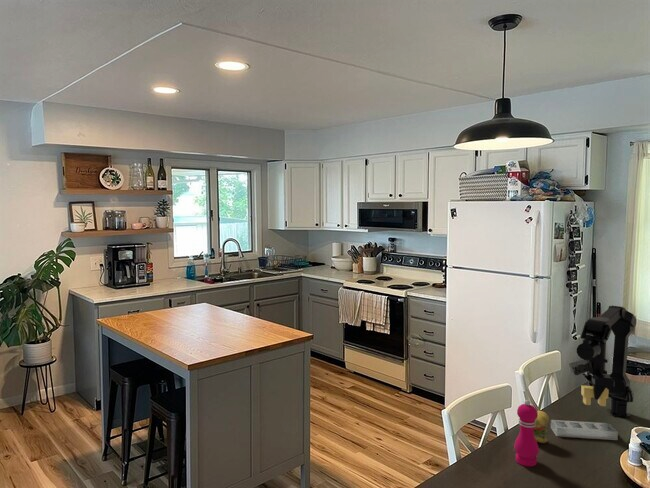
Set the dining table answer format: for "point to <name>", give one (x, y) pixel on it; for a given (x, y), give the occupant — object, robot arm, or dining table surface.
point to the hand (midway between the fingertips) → (594, 397)
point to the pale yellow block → (589, 393)
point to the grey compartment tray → (584, 429)
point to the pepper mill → (526, 435)
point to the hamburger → (541, 427)
